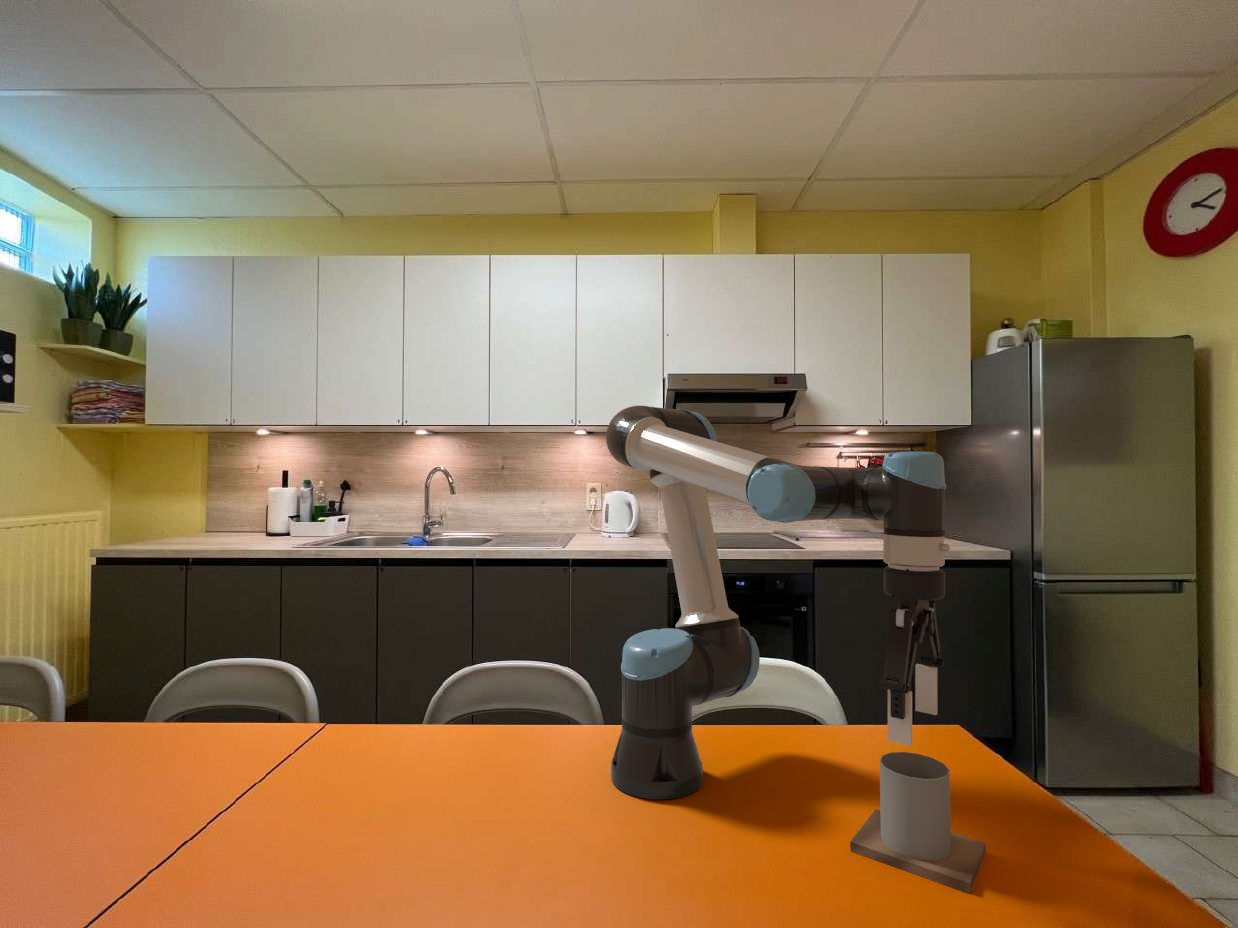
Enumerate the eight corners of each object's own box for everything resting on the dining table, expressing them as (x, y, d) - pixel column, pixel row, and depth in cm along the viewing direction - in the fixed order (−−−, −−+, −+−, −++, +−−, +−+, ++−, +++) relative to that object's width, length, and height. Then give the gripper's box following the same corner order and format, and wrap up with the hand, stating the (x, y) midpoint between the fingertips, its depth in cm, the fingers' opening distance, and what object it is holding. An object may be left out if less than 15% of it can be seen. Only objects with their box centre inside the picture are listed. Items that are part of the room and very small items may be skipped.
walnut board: (850, 850, 83) (850, 841, 83) (875, 817, 92) (875, 808, 92) (969, 893, 74) (969, 883, 74) (985, 852, 83) (985, 842, 83)
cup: (961, 863, 78) (959, 781, 79) (892, 857, 80) (890, 777, 80) (936, 827, 87) (935, 753, 87) (874, 822, 88) (873, 750, 88)
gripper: (920, 580, 73) (920, 766, 72) (963, 560, 92) (963, 707, 91) (854, 573, 77) (854, 748, 77) (908, 556, 97) (908, 695, 96)
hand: (913, 726), depth 84 cm, fingers open, 13 cm apart
